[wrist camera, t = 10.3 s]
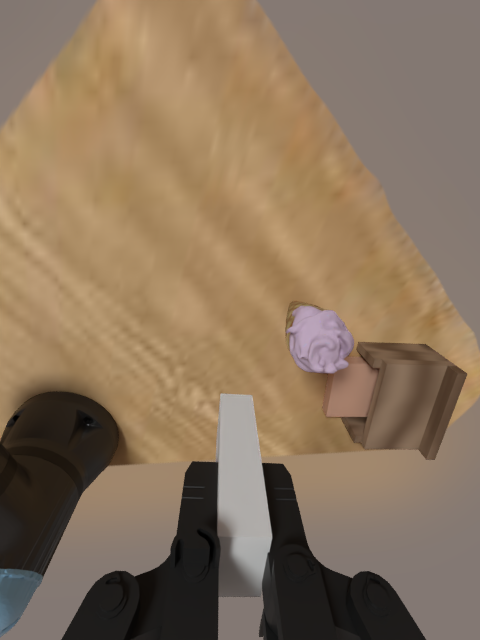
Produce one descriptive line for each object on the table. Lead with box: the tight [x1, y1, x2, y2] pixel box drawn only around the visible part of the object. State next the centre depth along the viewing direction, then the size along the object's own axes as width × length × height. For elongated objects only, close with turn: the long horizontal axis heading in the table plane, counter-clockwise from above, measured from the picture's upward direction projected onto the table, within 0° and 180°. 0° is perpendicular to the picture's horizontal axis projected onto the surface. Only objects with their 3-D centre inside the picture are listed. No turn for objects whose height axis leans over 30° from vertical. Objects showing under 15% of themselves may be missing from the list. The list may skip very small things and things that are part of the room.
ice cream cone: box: [286, 301, 354, 373], centre depth 33 cm, size 7×6×15 cm
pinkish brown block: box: [322, 357, 380, 417], centre depth 45 cm, size 12×9×2 cm
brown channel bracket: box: [341, 342, 467, 460], centre depth 42 cm, size 10×13×8 cm
